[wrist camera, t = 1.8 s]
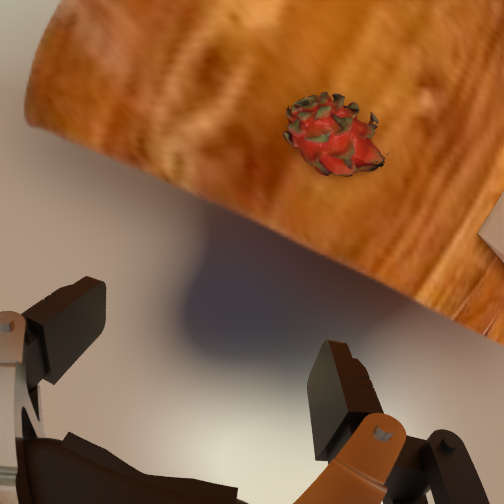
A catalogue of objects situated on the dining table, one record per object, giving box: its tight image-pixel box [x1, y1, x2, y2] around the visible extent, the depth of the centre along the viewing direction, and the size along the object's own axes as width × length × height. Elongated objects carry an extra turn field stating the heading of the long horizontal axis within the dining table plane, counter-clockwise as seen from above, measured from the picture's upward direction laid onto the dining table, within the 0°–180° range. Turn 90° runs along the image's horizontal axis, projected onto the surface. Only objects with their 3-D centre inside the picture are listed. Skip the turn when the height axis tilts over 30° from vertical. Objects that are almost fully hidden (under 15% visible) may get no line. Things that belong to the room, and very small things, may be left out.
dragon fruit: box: [283, 92, 388, 176], centre depth 29 cm, size 8×8×12 cm
